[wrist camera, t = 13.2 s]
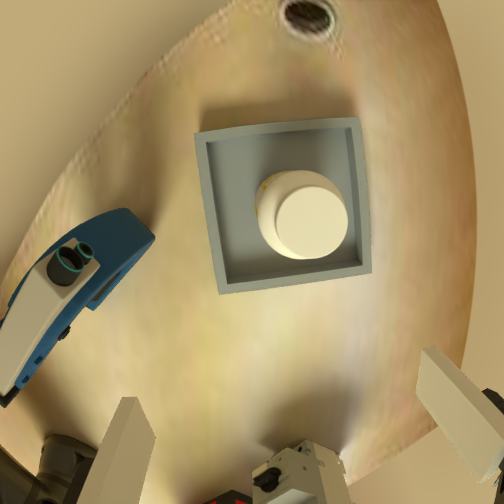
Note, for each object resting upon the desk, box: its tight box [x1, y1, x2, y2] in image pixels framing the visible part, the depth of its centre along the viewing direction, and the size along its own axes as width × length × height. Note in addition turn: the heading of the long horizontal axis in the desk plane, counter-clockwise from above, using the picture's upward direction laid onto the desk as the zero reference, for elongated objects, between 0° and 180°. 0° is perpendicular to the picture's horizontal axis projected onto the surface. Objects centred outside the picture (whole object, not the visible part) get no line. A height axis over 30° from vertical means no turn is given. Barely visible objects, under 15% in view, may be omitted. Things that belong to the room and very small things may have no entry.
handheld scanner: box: [0, 208, 155, 408], centre depth 25 cm, size 5×16×20 cm, turn 134°
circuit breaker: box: [252, 439, 355, 504], centre depth 35 cm, size 8×14×15 cm, turn 52°
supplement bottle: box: [254, 170, 348, 259], centre depth 26 cm, size 7×7×13 cm
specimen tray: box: [194, 117, 372, 295], centre depth 31 cm, size 16×16×3 cm
